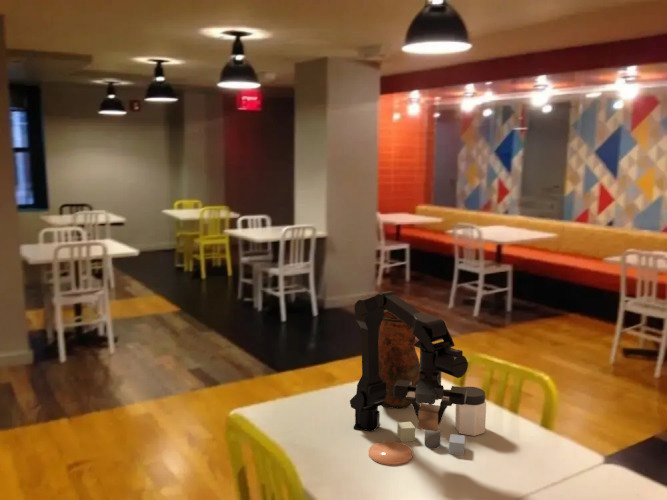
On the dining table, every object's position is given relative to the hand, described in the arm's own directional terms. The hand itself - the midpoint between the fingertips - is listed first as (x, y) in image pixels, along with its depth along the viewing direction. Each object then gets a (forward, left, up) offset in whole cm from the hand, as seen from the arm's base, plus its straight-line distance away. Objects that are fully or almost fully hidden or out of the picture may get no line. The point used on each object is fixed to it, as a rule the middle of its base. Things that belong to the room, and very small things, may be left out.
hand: (429, 422), depth 167 cm
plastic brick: (+7, +8, -11) cm, 15 cm away
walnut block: (0, 0, -1) cm, 1 cm away
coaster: (-10, 0, -11) cm, 15 cm away
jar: (+9, +22, -11) cm, 26 cm away
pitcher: (-19, +35, -11) cm, 41 cm away
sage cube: (-8, +11, -11) cm, 18 cm away
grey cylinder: (0, +9, -11) cm, 14 cm away
